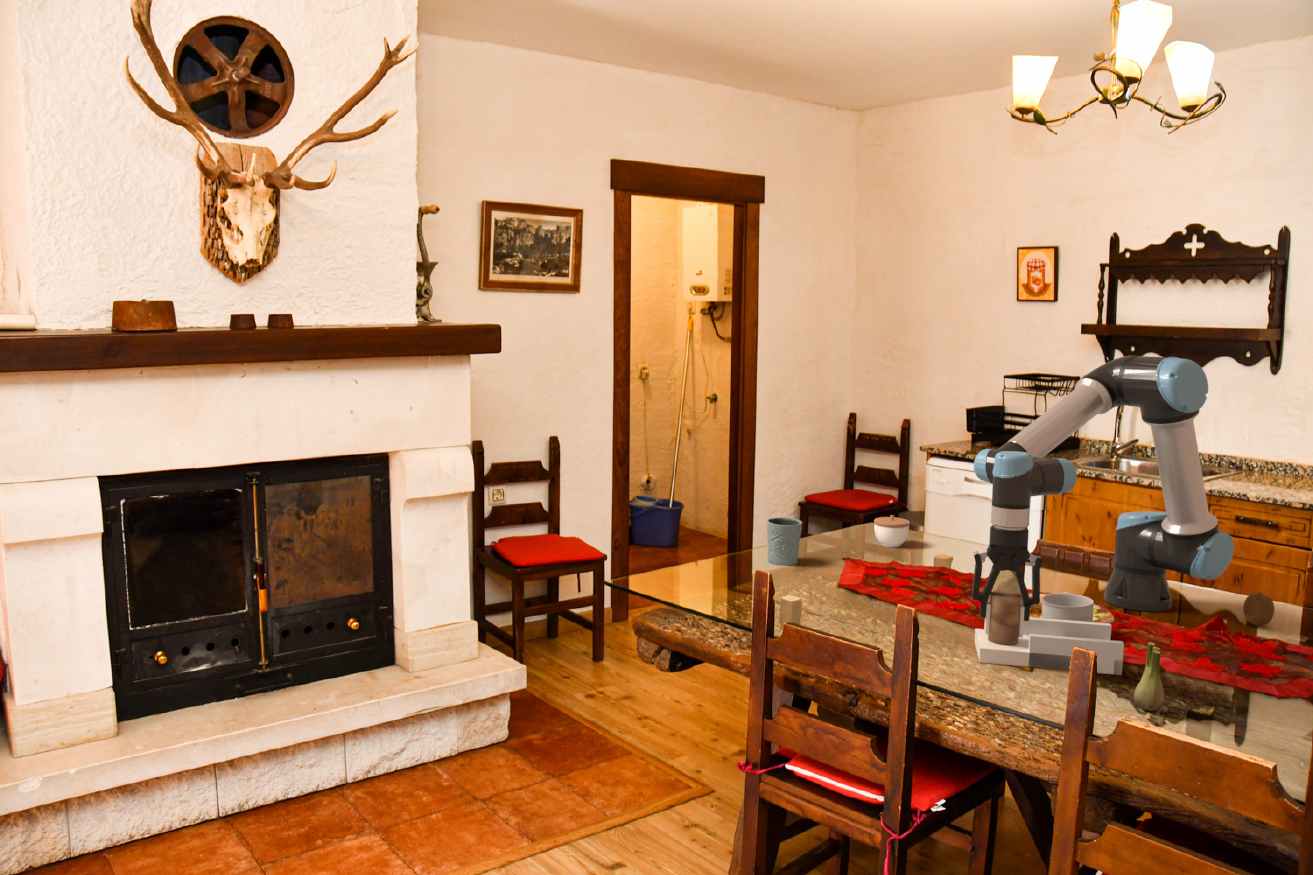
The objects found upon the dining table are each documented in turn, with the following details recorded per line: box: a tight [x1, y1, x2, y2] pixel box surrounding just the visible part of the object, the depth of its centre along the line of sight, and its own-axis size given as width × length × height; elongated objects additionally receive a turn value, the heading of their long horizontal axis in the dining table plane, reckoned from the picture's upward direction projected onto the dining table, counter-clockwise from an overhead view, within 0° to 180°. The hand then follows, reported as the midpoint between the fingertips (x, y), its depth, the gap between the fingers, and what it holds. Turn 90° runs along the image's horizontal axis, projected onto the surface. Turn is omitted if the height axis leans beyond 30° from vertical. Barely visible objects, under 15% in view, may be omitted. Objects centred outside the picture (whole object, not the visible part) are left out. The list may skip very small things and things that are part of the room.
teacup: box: [1040, 591, 1095, 622], centre depth 220 cm, size 14×11×8 cm
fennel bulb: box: [1133, 642, 1165, 712], centre depth 177 cm, size 6×5×12 cm
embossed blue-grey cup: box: [766, 516, 803, 567], centre depth 278 cm, size 10×10×12 cm
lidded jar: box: [873, 514, 911, 548], centre depth 300 cm, size 11×11×9 cm
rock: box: [988, 570, 1033, 609], centre depth 237 cm, size 11×9×10 cm
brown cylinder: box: [988, 590, 1021, 646], centre depth 204 cm, size 6×6×10 cm
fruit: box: [1242, 592, 1275, 627], centre depth 225 cm, size 6×6×8 cm
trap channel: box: [974, 616, 1125, 676], centre depth 202 cm, size 27×13×6 cm, turn 76°
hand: (1003, 633), depth 204 cm, fingers closed on brown cylinder, 6 cm apart
